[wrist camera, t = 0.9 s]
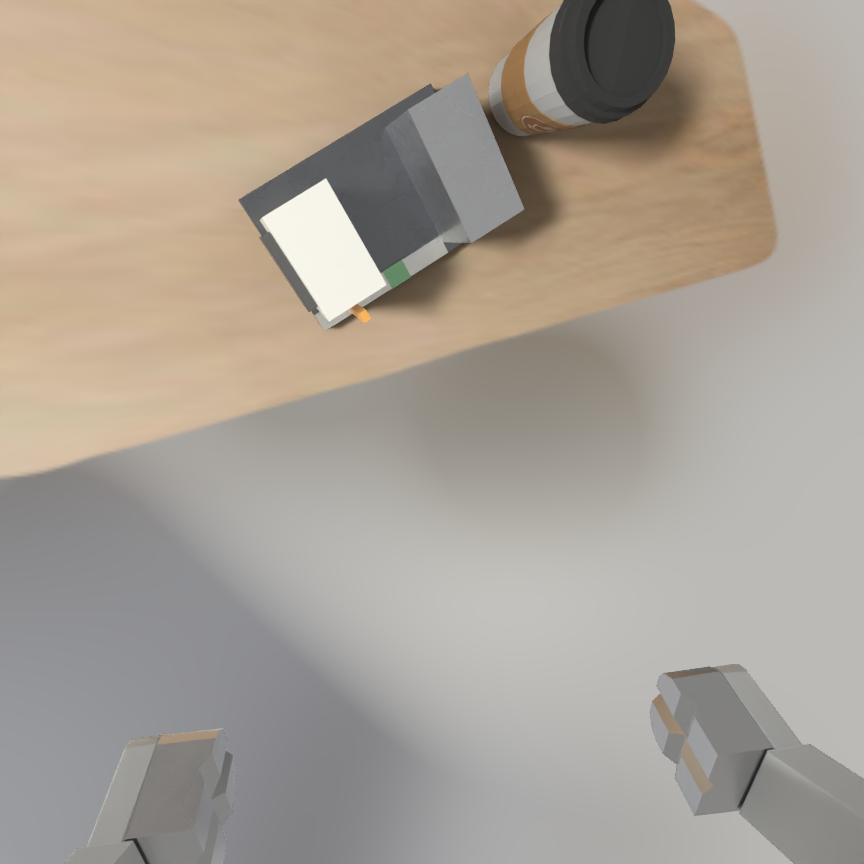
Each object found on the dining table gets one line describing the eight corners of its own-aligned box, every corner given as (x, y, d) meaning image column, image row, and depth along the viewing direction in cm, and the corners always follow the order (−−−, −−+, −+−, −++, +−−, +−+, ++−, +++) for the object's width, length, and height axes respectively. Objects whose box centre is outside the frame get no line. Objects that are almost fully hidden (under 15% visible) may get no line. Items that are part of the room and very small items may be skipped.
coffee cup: (467, 138, 47) (554, 99, 34) (484, 26, 45) (585, -63, 31) (550, 158, 50) (661, 130, 37) (570, 54, 48) (697, -17, 34)
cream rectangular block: (319, 329, 47) (332, 346, 40) (251, 225, 43) (251, 223, 36) (375, 293, 47) (397, 303, 40) (313, 187, 43) (326, 178, 36)
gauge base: (322, 328, 49) (336, 345, 41) (238, 200, 43) (236, 193, 36) (487, 223, 50) (529, 221, 43) (425, 87, 45) (461, 57, 37)
